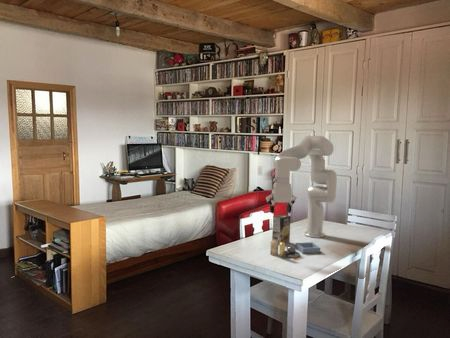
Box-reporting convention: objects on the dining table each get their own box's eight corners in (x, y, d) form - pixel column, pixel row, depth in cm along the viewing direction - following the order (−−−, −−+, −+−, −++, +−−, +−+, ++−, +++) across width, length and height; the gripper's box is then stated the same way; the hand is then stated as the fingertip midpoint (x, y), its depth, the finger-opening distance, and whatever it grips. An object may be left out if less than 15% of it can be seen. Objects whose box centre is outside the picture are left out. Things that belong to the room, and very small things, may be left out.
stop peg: (269, 253, 208) (269, 240, 207) (276, 253, 209) (276, 240, 208) (271, 255, 204) (272, 242, 204) (278, 255, 205) (279, 242, 204)
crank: (290, 251, 209) (291, 238, 208) (297, 253, 206) (297, 240, 205) (277, 255, 202) (277, 242, 201) (283, 257, 199) (284, 244, 198)
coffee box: (280, 245, 222) (281, 218, 221) (271, 243, 227) (272, 216, 225) (289, 242, 229) (291, 215, 227) (281, 240, 233) (282, 214, 232)
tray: (295, 248, 218) (296, 243, 218) (312, 247, 220) (312, 242, 220) (302, 253, 208) (303, 248, 208) (320, 253, 210) (320, 247, 210)
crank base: (280, 252, 210) (280, 250, 209) (295, 252, 211) (296, 250, 211) (288, 260, 198) (288, 258, 198) (304, 259, 200) (304, 257, 199)
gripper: (270, 181, 198) (268, 214, 199) (300, 181, 203) (298, 213, 204) (264, 179, 205) (262, 211, 206) (293, 180, 210) (292, 211, 211)
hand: (280, 212), depth 205 cm, fingers open, 9 cm apart
